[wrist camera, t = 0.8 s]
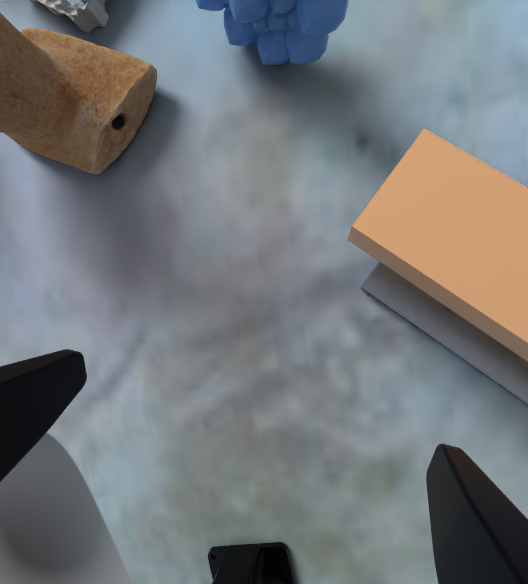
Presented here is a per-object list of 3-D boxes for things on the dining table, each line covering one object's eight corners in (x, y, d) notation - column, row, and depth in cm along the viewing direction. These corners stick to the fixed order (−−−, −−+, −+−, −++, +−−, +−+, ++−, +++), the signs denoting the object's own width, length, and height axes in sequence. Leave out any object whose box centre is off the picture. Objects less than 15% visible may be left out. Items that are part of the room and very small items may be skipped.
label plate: (707, 319, 18) (734, 322, 17) (585, 445, 20) (602, 455, 18) (450, 168, 21) (458, 161, 20) (360, 287, 22) (361, 287, 21)
